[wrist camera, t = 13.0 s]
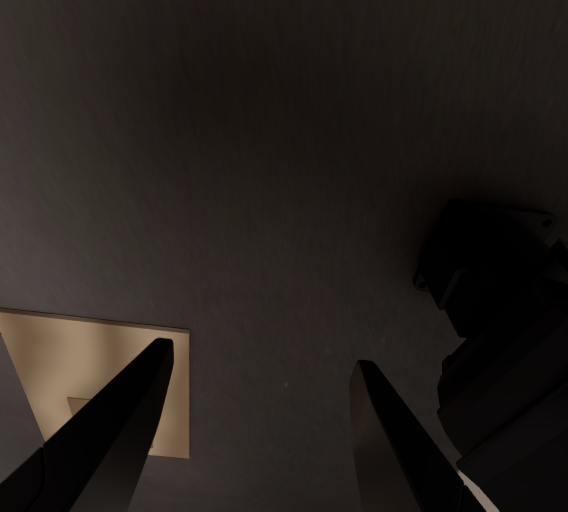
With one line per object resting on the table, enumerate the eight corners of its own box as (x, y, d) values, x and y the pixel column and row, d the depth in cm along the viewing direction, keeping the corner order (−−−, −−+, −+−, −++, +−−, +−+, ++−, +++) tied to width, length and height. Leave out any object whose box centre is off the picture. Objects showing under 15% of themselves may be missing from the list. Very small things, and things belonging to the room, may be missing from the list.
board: (190, 329, 27) (188, 334, 27) (190, 454, 37) (188, 459, 37) (-4, 307, 26) (-9, 312, 26) (48, 441, 36) (46, 446, 36)
